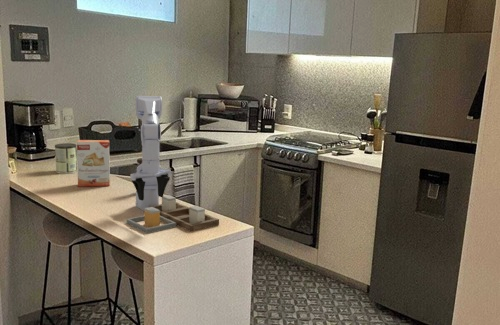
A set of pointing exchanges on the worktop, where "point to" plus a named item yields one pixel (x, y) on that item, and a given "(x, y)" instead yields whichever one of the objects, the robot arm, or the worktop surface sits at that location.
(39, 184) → the worktop surface
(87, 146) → the cracker box
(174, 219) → the holder
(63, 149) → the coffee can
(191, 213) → the block
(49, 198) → the worktop surface
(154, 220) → the grey and orange block
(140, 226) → the tray
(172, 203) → the block
